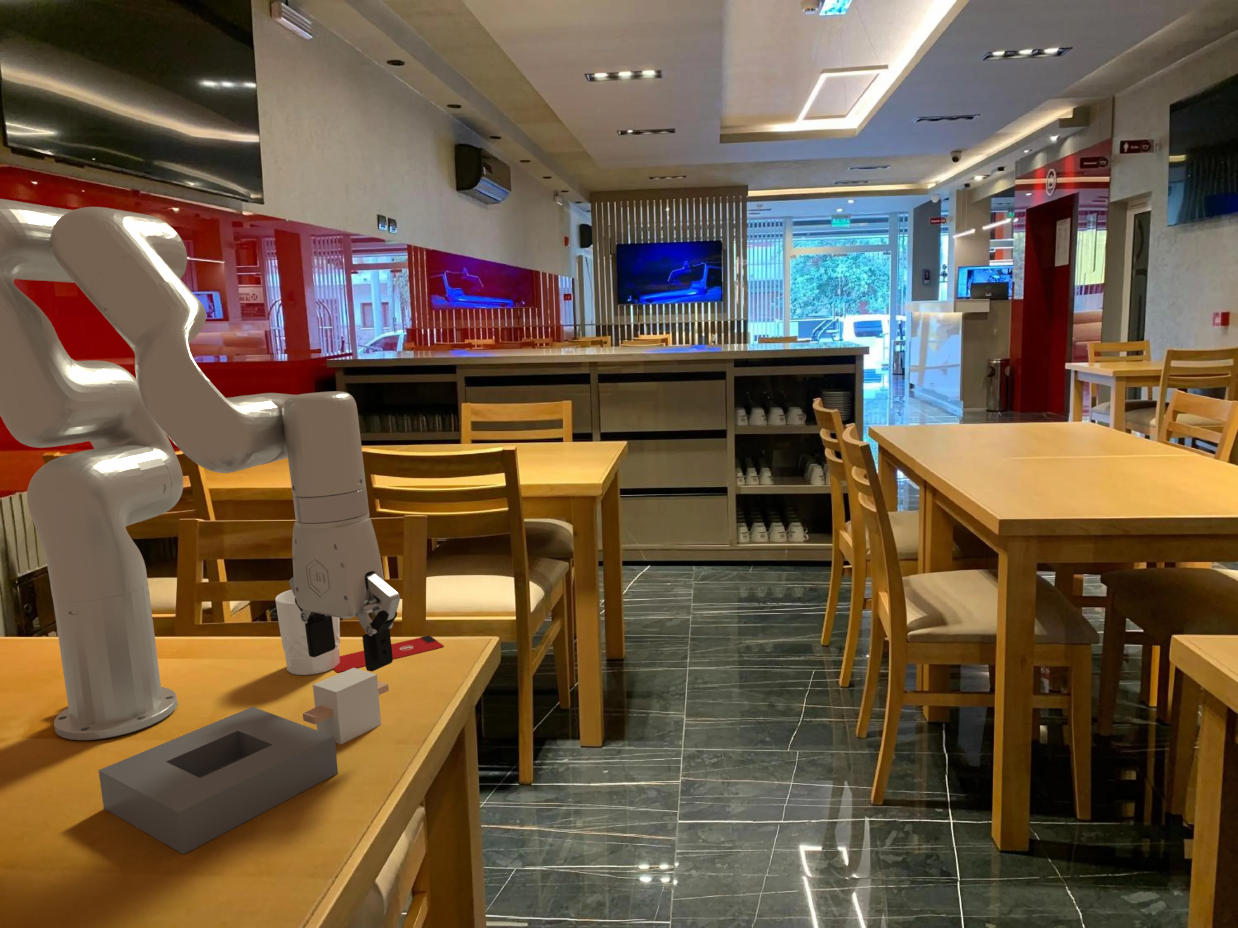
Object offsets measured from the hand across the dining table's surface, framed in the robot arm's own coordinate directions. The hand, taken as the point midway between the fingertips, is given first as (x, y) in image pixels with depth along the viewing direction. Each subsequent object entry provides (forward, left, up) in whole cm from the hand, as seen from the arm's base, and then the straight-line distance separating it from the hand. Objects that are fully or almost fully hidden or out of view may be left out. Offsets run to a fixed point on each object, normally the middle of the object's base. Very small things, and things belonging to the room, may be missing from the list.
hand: (350, 659), depth 96 cm
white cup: (-21, +10, -9) cm, 24 cm away
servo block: (-1, 0, -8) cm, 8 cm away
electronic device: (-16, +18, -9) cm, 25 cm away
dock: (-1, -15, -8) cm, 17 cm away
